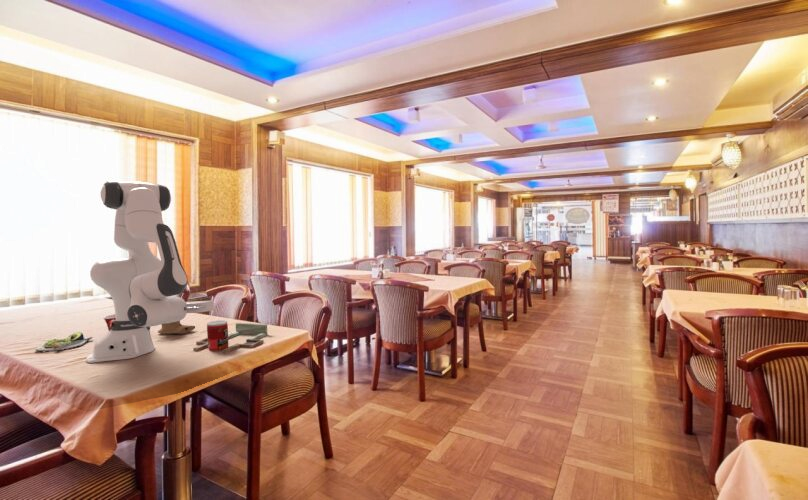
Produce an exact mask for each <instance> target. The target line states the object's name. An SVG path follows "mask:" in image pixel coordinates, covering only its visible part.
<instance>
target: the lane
mask: <svg viewBox="0 0 808 500" xmlns="http://www.w3.org/2000/svg"><path fill="white" fill-rule="evenodd" d="M238 335H242V336H245V335H247V336H249V335H250V336H252V337H248V338H246V339H245V342H244V343H236V344H233V345H230V346H228V348H226V349H223V350H221V351H222V354H229V353H231V352H232V351H235V350H237V349H240V348H246V349H253V348H255V347H259V345H262V344H264V343H265V341H264V339H262V338H263V337H266V336H268V324H267V323H251V322H250V323H245V322H236V323H235V331H234V332H231V333H228V340H229V339H231V338H235V337H236V336H238ZM195 344H196V345H198V346H195V347H193V352H199V351H202V350H204V349H207V348H208V337H205V338H203V339H200V340H198V341H195Z"/></svg>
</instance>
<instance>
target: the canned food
mask: <svg viewBox="0 0 808 500" xmlns="http://www.w3.org/2000/svg"><path fill="white" fill-rule="evenodd" d="M228 325H229V324H228V321H227V320H214V321H213V320H212V321H208V322H207V323H206V331H207V332H206V335H207V338H208V347H207V348H208V350H209V351H211V352H218V351H219V352H220V351H222V350H223V349H226V348H228V347H229V339H228V335H229V328H228Z"/></svg>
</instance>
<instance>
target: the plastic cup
mask: <svg viewBox="0 0 808 500" xmlns="http://www.w3.org/2000/svg"><path fill="white" fill-rule="evenodd" d="M102 318H103V320H104V321H105V324H106V326H107V330H108V332H109V331H110V330H111V329H110V321H111V320H116V317H115V313H114V314H109V315H106V316H103V317H102Z"/></svg>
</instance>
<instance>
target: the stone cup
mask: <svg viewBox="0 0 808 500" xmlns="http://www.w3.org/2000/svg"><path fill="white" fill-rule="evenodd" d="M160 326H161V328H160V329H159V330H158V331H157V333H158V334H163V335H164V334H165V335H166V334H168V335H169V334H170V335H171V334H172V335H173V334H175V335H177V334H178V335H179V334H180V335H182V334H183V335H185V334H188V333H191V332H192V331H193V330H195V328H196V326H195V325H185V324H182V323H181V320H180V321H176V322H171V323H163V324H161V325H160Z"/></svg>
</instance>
